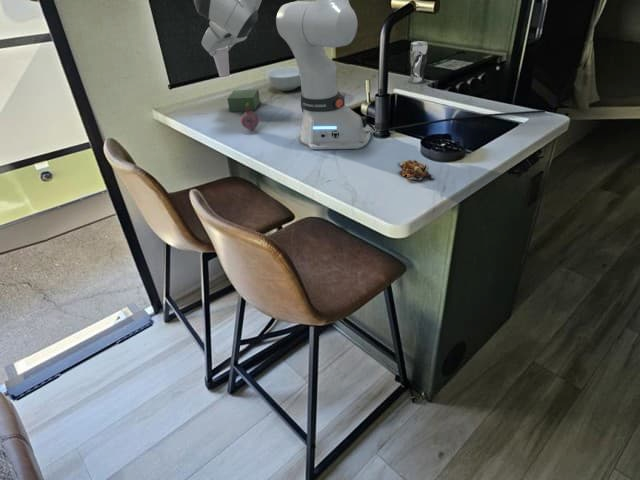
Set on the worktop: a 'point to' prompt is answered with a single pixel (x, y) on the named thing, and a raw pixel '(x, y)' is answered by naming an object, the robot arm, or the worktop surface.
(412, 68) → the beer glass
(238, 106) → the green block
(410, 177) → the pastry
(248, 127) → the vegetable
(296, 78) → the cereal bowl
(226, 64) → the smoothie
